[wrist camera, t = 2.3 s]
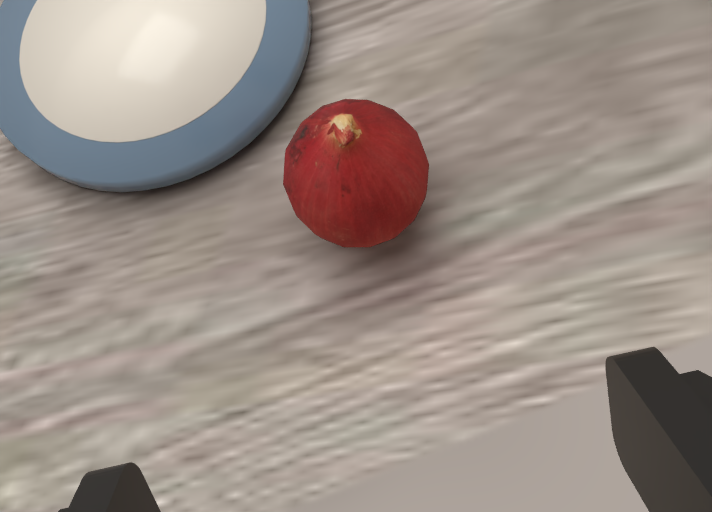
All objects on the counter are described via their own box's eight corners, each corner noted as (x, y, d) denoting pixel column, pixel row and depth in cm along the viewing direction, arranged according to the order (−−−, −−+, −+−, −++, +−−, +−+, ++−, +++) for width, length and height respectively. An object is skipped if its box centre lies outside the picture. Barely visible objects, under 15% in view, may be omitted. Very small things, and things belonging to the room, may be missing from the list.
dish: (285, -111, 38) (276, -140, 36) (342, 147, 32) (335, 127, 30) (4, -30, 39) (-18, -55, 37) (8, 233, 33) (-18, 219, 31)
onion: (283, 241, 31) (225, 160, 23) (340, 137, 32) (302, 29, 25) (398, 291, 29) (375, 221, 22) (453, 180, 31) (449, 77, 23)
